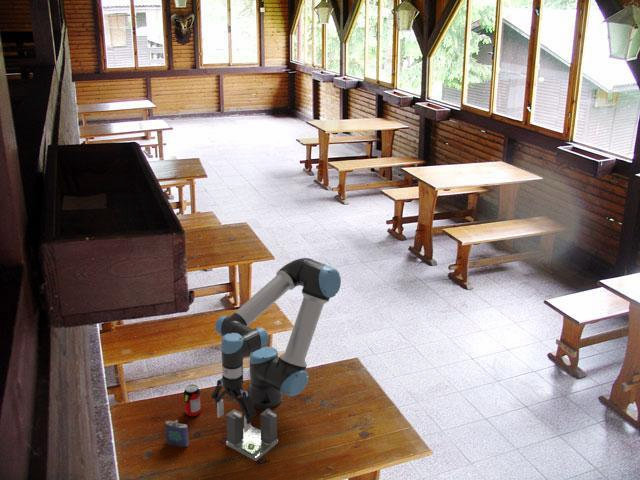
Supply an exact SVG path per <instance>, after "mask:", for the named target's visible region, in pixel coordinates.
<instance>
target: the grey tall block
mask: <svg viewBox="0 0 640 480" xmlns="http://www.w3.org/2000/svg"><path fill="white" fill-rule="evenodd" d="M259 414H260V418H259V419H260V421H259V422H260V430H261V440H262V441H263V442H265V443H267V444H269V445H270V444H271V443H272V442H274V441H275V440H276V439H278V412H276V411H275V410H272V409H271V408H268V409H264V411H262V412H261V413H259Z"/></svg>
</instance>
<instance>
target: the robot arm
mask: <svg viewBox="0 0 640 480" xmlns="http://www.w3.org/2000/svg"><path fill="white" fill-rule="evenodd" d="M341 279H342V278H341V275H340V271H338V269H336V268H334V267H332V266H331V265H329V264H325V263H322V262H319V261H317V260H314V259H313V258H308V257H302V258H298V259H294V260H292V261H290V262H288V263H286V264H285V265H284V266H282V267H281V268H280V269H278V270H277V271H276V275H275V276H274V277H273V278H272V279H271V280H270V281H269V282H267V283H266V284H265V285H264V286H263V287H262V288H261V289H259V291H257V292H256V293H254V295H252V296H251V297H250V299H248V300H247V301H246V302H244V303H243V304H242V305H241V306H240V307H239V308H238V309H237V310H236V311H234V313H232V314H231V315H230V316H228V315H221V316H220V317H219V318H218V319H217V320H216V322H215V325H214V329H215V331H216V333H217V334H218V335H220V336H222V337H221V344H220V345H221V346H220V350H221V351H220V352H221V353H220V354H221V368H222V369H221V371H222V375H221V376H222V378H220V379H218V380H217V381H216V386H215V389H214V390H213V392H212V394H211V398H212V399H213V400H214V401H215V408H216V413H217V415H216V416H217V418H220V417H223V416H224V415H225V412H224V411H225V410H224V399H223V398H224V397H225V396H226V395H227V396H229V397H231V398H232V399H234V400H235V402H237V403H238V405H239V406H240V408H241V410H242V413H243V414H244V415H243V428H244V431H245V432H246V431H247V430H249V429H250V428H251V426H252V424H251V423H252V421H253V419H252V418H253V417H255V416H256V415H257V412H256V409H261V410H266V409H272V408H275V407H276V406H278V405H280V403H281V402H282V401H283V395H286V396H288V397H295V396H297V395H299V394H300V393H302V392H303V390H305V389H306V387H307V384H308V383H309V378H310V377H309V374H308V372H307V371H306V369H307V367H308V364H307V362H306V358H307V355H308V352H309V349H310V346H311V343H312V340H313V337H314V334H315V331H316V328H317V325H318V323H319V320H320V316H321V314H322V311H323V307H324V305H325V304H326V303H328V302H330V300H331V298H334V297H335V296H336V295H337V294H338V292H339V291H340V289H341V282H342V281H341ZM299 286H302V289H301V294H302V296H303V298H302V301H301V304H300V308H299V310H298V313H297V316H296V318H295V322H294V325H293V327H292V330H291V333H290V336H289V340H288V341H287V345H286V348H285V350H284V351H285V352H284V353H282V354H280V355H279V352H278V350H277V349H276V348H275V347H271V346H267V345H268V344H269V342H270V341H269V339H270V336H269V333H268V331H267V330H266V329H265V328H263V327H262V326H261V327H259V326H258V327H254V328H251V327H249V326H250V325H251V324H252V323H253V322H255V320H257V319H258V317H260V316H261V315H262V314H263V313H265V312H266V311H267V310H268V309H269V308H270V307H271V306H273V304H274V303H275V302H277V300H279V299H280V298H281V297H282V296H284V295H285V294H286V293H287V292H288V291H290V290H294V288H296V287H299ZM246 356H249V360H248V361H249V362H248V363H249V379H250V383H249V386H248V389H246V390H245V389H243V384H244V365H243V364H244V357H246ZM222 388H224V390H223V391H222V392H221V390H222ZM220 392H221V393H220Z"/></svg>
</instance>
